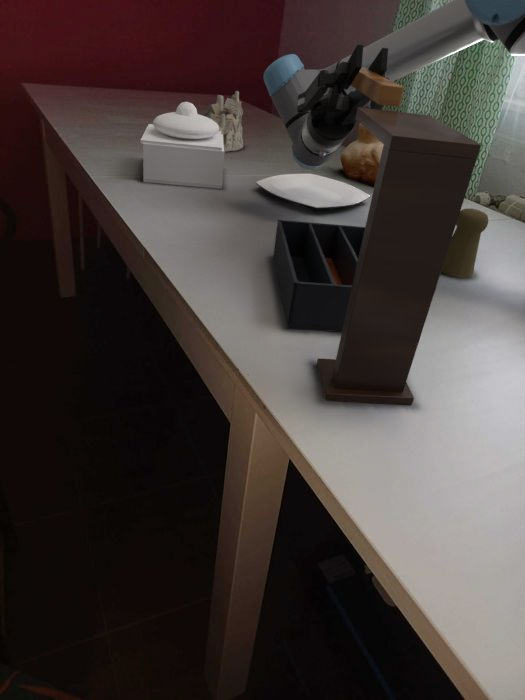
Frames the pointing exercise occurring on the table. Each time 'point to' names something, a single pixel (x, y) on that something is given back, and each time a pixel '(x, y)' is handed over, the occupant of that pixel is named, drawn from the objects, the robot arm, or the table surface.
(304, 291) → the slot rack
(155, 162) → the butter dish
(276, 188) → the plate
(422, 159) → the shelf stand
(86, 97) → the table surface
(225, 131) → the miniature castle sculpture
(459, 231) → the cork
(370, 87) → the bar
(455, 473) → the table surface
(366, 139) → the ceramic vessel
